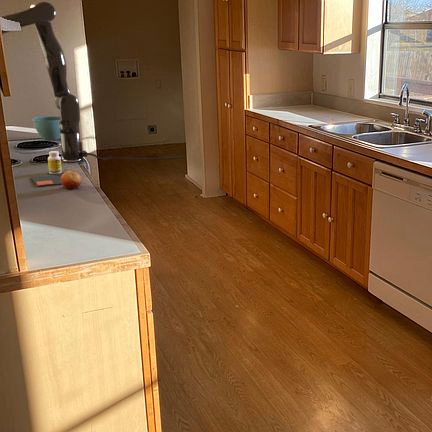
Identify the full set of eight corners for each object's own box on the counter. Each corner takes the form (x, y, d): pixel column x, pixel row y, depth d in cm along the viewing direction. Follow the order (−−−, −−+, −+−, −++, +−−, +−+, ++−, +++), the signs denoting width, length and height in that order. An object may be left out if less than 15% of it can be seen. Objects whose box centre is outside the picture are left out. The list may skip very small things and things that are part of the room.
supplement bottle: (57, 174, 257) (55, 153, 254) (46, 173, 258) (44, 152, 255) (64, 171, 262) (62, 151, 259) (53, 171, 263) (51, 150, 260)
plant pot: (33, 137, 341) (31, 116, 338) (65, 135, 350) (63, 115, 346) (36, 142, 326) (34, 121, 322) (69, 140, 335) (68, 119, 331)
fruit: (68, 180, 242) (74, 166, 238) (81, 192, 240) (86, 177, 236) (53, 184, 235) (58, 170, 231) (66, 196, 233) (72, 181, 230)
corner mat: (69, 174, 258) (69, 173, 258) (77, 182, 245) (77, 181, 245) (31, 178, 250) (31, 177, 250) (37, 186, 237) (37, 185, 237)
